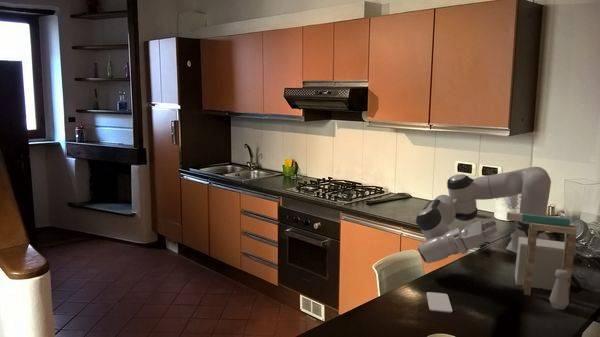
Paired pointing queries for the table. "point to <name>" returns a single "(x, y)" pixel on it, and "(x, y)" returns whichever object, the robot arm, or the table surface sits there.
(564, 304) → the salt shaker
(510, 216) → the marker
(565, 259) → the wooden stand
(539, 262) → the white rectangular block
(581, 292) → the table surface
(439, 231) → the robot arm
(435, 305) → the smartphone
